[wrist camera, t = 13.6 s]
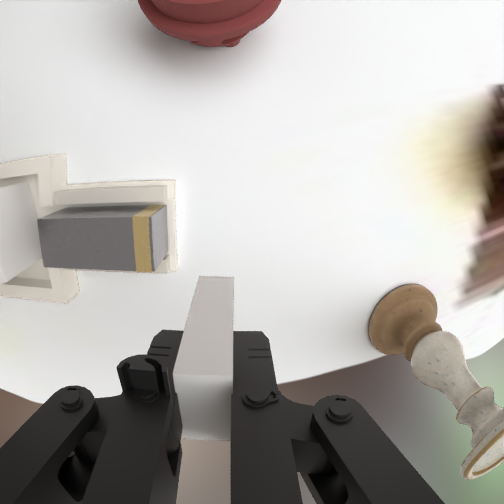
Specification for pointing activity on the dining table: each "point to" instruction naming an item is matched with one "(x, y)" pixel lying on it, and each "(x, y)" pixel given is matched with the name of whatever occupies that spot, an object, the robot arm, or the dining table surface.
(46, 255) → the grey rectangular block
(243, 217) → the dining table surface
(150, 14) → the mechanical component
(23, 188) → the container
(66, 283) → the dock socket
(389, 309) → the candle holder
